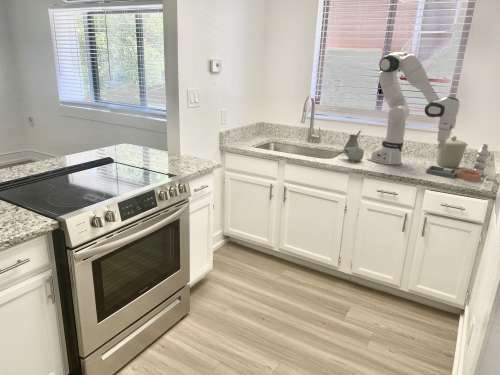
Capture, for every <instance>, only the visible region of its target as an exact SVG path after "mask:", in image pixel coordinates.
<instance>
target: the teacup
mask: <svg viewBox="0 0 500 375" xmlns="http://www.w3.org/2000/svg"><path fill="white" fill-rule="evenodd" d="M345 149H347V151H348V153H346V151H345ZM342 151H343V153H344V155H345V156H346V157H347V159H348V160H349V161H352V162H360V161H361V160H363V158H364V154H365V149H364V148H360V147H359V148H356V147H351V148H343V150H342Z"/></svg>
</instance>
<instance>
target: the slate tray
mask: <svg viewBox="0 0 500 375" xmlns="http://www.w3.org/2000/svg"><path fill="white" fill-rule="evenodd" d="M444 168H445V167H442V166H438V165H437V166H436V165H430V166H429V167H427V169H426V171H425V173H426V174H430V175H435V176H439V177H444V178H449V179H454V178H455V177H457V174H458V171H459V169H455V168H451V169H452V173H451V174H449V173H444V172H443V169H444Z"/></svg>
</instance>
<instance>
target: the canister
mask: <svg viewBox="0 0 500 375" xmlns="http://www.w3.org/2000/svg"><path fill="white" fill-rule="evenodd" d="M438 143H439V141H438V140H437V144H438ZM446 143H447V147H446V149H445V150H444V149H438V148H437V151H436V152H437V154H436V165H437V166H438V167H443V168H448V169H457V168H459V166H460V165H461V162H462V159H463V157H464V153H465V151H466V149H467V148H466V147H468V146H469V145H468V143H467V142H465V141H463V140H459V139H457V136H456V135H452V136H451V135H450V138H448V139H447V140H446Z"/></svg>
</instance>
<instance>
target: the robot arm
mask: <svg viewBox="0 0 500 375" xmlns="http://www.w3.org/2000/svg"><path fill="white" fill-rule="evenodd" d="M378 65H379V68H380V71H379V73H378V80H379V85H380V88H381V91H382V94H383V97H384V101H386V104H387V105H388V108H389V111H388V114H387V115H388V116H387V127H386V128H387V129H386V137H385V139H384V140H383V141H382V142H381V146H379V147H377V148H375V149H374V150H373V151H372V153H371V154H370V156H368V157H367V160H368V161H371V162H375V163H378V164H379V163H380V164H382V165H387V166H388V165H401V164H402V163H403V162H402V151H403V147H404V138H405V133H406V132H405V131H406V130H405V129H406V120H407V118H408V117H409V116H410V108H409V106H408V103H407V100H406V99H405V97H404V96H405V95H404V94H403V92H402V89H401V86H400V83H399V79H398V76H397V74H398V73H399V72H402V73H403V75H404V77H405V78H406V81H407V82H408V83H409V84H410V86H412V88H416V89H417V90H419V91H420V92H421V94H422V95H423V97H424V98H425V100H426V101H427V103H426V105H425V107H424V114H425V115H426V117H428V118H439V121H438V126H437V129H438V133H437V141H439V142H440V146H439V148H443V144H444V143H446V140H447V139H450V138H451V133H452V131H453V130H454V129H455V127H456V123H457V117H458V114H459V109H460V100H459V98H457V97H454V96H445V97H444V98H439V96H438V94H437V92H436V91H435V89H434V88H433V85H432V84H431V82H430V80H429V78H428V77H429V76H428V75H427V72H426V69H425V68H424V66H423V64H422V63H421V61H420V60H419V58H418V57H417V56H416V55H415V54H412V53H411V54H408V53H407V52H406V51H397V52H392V53H390V54H386V55H384V56H383V57H382V58H381V59H380V61H379V64H378ZM452 129H453V130H452Z"/></svg>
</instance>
